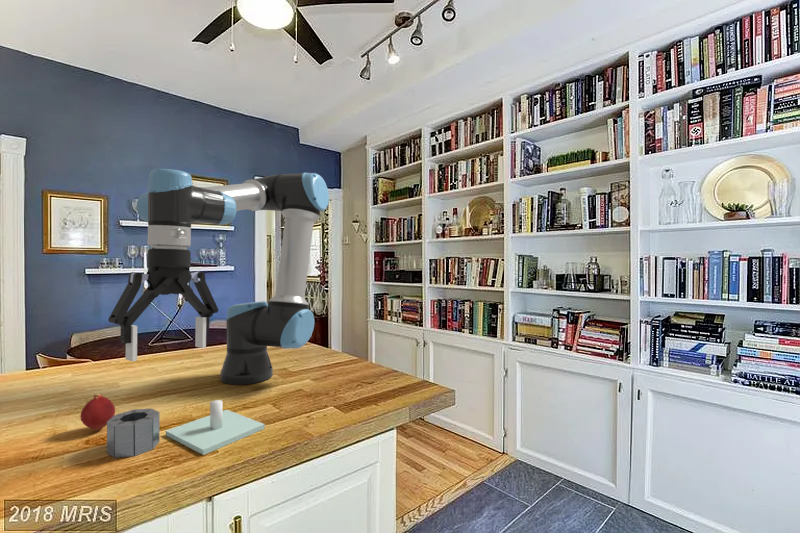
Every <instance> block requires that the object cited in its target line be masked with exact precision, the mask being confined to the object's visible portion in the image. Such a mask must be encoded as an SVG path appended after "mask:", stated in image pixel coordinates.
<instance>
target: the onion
mask: <svg viewBox="0 0 800 533" xmlns="http://www.w3.org/2000/svg"><path fill="white" fill-rule="evenodd" d="M115 413H116V408H115V404H114V403H113V402H112V401H111V400H110V399H109V398H108V397H105V396H103V395H102V394H100V393H96V394H94V395H93V398H92V399H90V400H89V401H88V402H86V403H85V405H84V406H83V408H82V410H81V412H80V416H79V418H80V420H81V422H82V424H83V425H84V426H86V427H87V428H89V429H92V430H94V431H95V432H98V431H99V432H100V431H101V430H102V429H103V428H105V427H107V421H108V420H109V419H111V418H112V417H113V416H114V415H116V414H115Z"/></svg>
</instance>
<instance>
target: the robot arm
mask: <svg viewBox="0 0 800 533" xmlns="http://www.w3.org/2000/svg"><path fill="white" fill-rule="evenodd" d="M329 202H330V193H329V189H328V186H327V184H326V181H325V180H324V178H323V177H322V176H321V175H320V174H318V173H316V172H300V173H285V174H283V173H279V174H273V175H267V176H263V177H259V178H258V177H257V178H253V179H252V178H251V179H247V180H244V181H243V182H242V183H236V184H226V185H225V184H224V185H215V186H206V187H204V186H203V187H201V186H200V187H199V186H195V185H193V180H192V175H191V174H190V173H188V172H187V171H183V170H179V169H173V168H172V169H171V168H156V169H153V170H151V171H150V172H149V175H148V185H147V191H146V192H144V193H142V194H141V195H140V196H139V197H138V199H137V201H136V211H137V214H138V216H139V217H140V218H141V219H142V220H143V221H144V222H146V223H147V246H150V248H148V250H147V264H146V266H147V272H146V273H141V272H135V271H132V272H130V273H128V274H129V275H128V280H127V285H126V286H125V289H124V290H123V292H122V294H121V296H120V297H119V299H118V301H117V303H116V304H115V306H114V308H113V309H112V312H111V314H110V315H109V317H108V319H107V320H108V322H109V323H112V324H114V325H119V327H120V342H121V343H122V344H125V360H127V361H130V362H136V361H138V325H134V323H135V322H136V321H137V320H138V318H139V317H140V316H141V315H142V314H143V312H144V311H145V310H146V309H147V308H148V307H149V306H150V305H151V303H152V302H153V301H154V300H155V299H156V298H158V297H159V295H162V296H167V295H181V296H182V297H184V299H185V300H186V302H187V303H189V304H190V306H191V307H192V308H193V310H195V311H196V312H197V313H198V315H199V316H195V335H194V336H195V339H194V340H195V342H194V343H195V344H194V345H195V348H200V349H205V348H207V332H209V330H210V319H211V318H212V317H213V316H214V314H217V313H218V312H219V307H218V306H217V303H216V301H215V298H214V296H213V295H212V293H211V290H210V288H209V286H208V284H207V281H206V273H205V272H204V271H198V270H197V271H193V272H191V271H190V267H191V264H192V263H191V261H192V260H191V256H192V255H191V254H192V253H191V252H192V251H190V249H188V248H190V247H191V244H192V243H191V242H192V240H191V238H192V237H191V235H192V224H209V225H210V224H211V225H212V224H213V225H214V226H216V225H218V226H219V225H228V224H230V223H231V222H232V221H233V220H234V219H235V218H236V216H237V212H238V211H245V210H249V211H250V212H251V211H253V212H257V211H275V212H280V213H281V215H282V216H283V217H284V220H285V221H284V228H283V234H282V242H281V251H280V256H279V263H278V264H279V265H278V272H277V279H276V284H275V285H276V287H275V292H274V294H275V295H274V296H273V297H271V298H270V299H269V300H268V302H267V301H254V302H253V301H252V302H245V303H237V304H233V305H230V306H229V307H228V308H227V313H226V318H225V319H226V320H225V321H226V356H225V359H224V361H223V364H222V367H221V370H220V373H219V376H220V378H219V380H220V382H222V383H225V384H228V385H251V384H257V383H261V382H264V381H266V380H269V379H271V378H272V377H273V374H274V373H273V372H274V369H273V365H272V362H271V359H270V356H269V352H268V347H271V348H281V349H301V348H302V347H303V346H305V345H306V344H307V343H308V342H309V340H310V338H311V337H312V334H313V332H314V330H315V329H314V328H315V316H314V313H313V311H311V310H310V309H309V306H310V305H309V303H308V302H307V300H306V299H305V295H306V289H307V288H306V287H307V281H308V280H307V279H308V271H309V263H310V255H311V249H312V248H311V247H312V239H313V230H314V224H315V222H317V221H318V220H320V216H321V215H320V214H321V212H323V211H325V210H327V207H329V204H330V203H329ZM145 281H146V282H147V284H148V286H147V287H146V288H145V289H144V290H143V293H142V295H141V296H140V297H139V298H138V299H137V300H136V302H135V303H133V302H134V299H135V298H136V296H137V294H138V293H139V291H140V289H141V286H142V285H143V284H144V283H145ZM191 281H192V282H193V284H194V286H195V288H196V291H197V292H198V295H199V297H200V298H199V297H198V296H197V295H196V293H195V292H194V290H193V288H191V286H190V285H189V283H190V282H191ZM200 299H201V300H200ZM132 303H133V305H132ZM131 305H132V306H131Z"/></svg>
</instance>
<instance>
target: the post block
mask: <svg viewBox="0 0 800 533" xmlns="http://www.w3.org/2000/svg"><path fill="white" fill-rule="evenodd" d="M209 405H210V406H209V407H210V408H209V409H210V411H209V415H207V416H205V417H204V416H203V417H201V418H198V419H196V420H193V421H190V422H186V423H183V424H182V425H179V426H175V427H172V428H169V429H166V430H165V436H166V437H169V438H170V439H171V440H174V441H175V442H178V443H180V444H181V445H184V446H185V447H187V448H189V449H191V450H193V451H195V452H196V453H199V454H200V455H203V456H206V455H207V454H209V453H211V452H214V451H216V450H219V449H220V448H223V447H225V446H228V445H230V444H232V443H235V442H236V441H239V440H242V439H244V438H246V437H248V436H250V435H253V434H255V433H258V432H260V431H262V430H264V429H265V425H266V424H265V423H262V422H260V421H257V420H255V419H253V418H249V417H247V416H244V415H242V414H240V413H237V412H234V411H232V410H229V409H224V410H223V400H221V399H215V400H212V401H210V403H209Z"/></svg>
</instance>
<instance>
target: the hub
mask: <svg viewBox="0 0 800 533" xmlns="http://www.w3.org/2000/svg"><path fill="white" fill-rule="evenodd" d="M159 443H160V411H158V410H156V409H154V408H139V409H138V408H136V409H135V408H134V409H131V410H127V411H123V412H120V413H117V414H114V416H113V417H112V418H111V419H109V420H108V421H107V425H106V454H108V455H110V456H111V457H112V458H115V459H118V458H129V457H132V458H133V457H136V456H140V455H141V454H144V453H147V452H149V451H152V450H154V449H155V447H156V446H157V445H158V444H159Z"/></svg>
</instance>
